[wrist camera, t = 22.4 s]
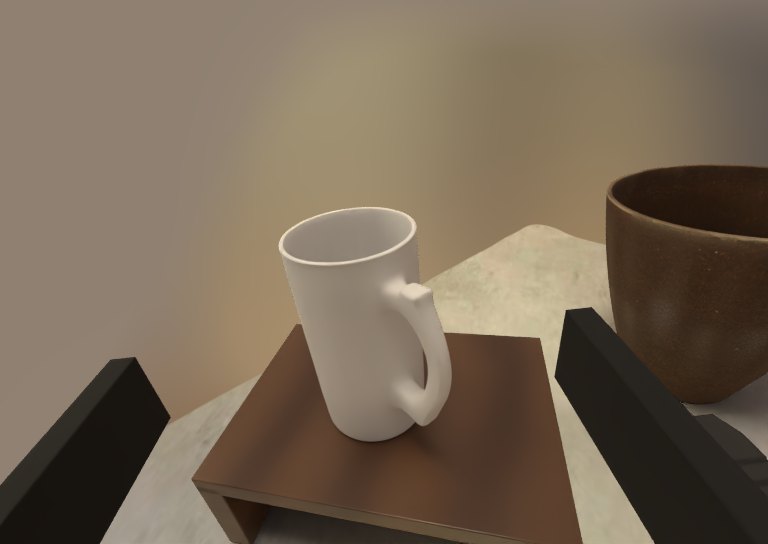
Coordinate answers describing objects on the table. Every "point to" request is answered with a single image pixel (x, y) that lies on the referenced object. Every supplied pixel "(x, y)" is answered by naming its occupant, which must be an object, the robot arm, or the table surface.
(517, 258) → the table surface
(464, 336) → the walnut shelf
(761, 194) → the flower pot
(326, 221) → the mug
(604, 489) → the table surface
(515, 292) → the table surface
